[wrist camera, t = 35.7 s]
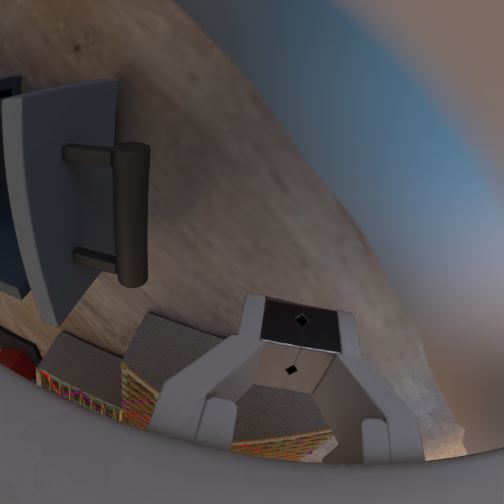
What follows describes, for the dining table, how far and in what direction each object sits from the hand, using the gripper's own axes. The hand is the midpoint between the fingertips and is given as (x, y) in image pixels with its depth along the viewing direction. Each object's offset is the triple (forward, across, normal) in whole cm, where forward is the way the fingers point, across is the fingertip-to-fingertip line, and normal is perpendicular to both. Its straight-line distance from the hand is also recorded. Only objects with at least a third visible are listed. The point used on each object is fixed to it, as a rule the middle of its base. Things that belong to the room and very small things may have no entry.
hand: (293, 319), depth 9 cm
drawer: (+8, +14, 0) cm, 16 cm away
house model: (+9, +6, +22) cm, 25 cm away
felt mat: (+9, +28, +27) cm, 40 cm away
